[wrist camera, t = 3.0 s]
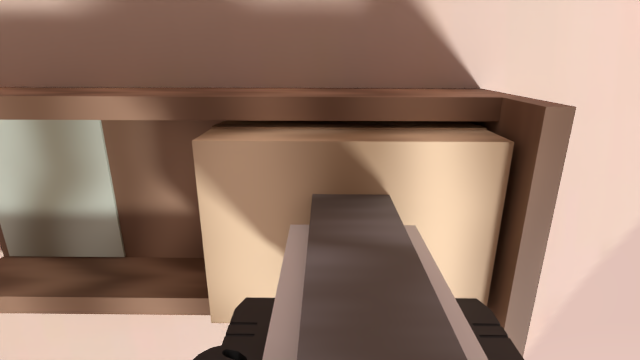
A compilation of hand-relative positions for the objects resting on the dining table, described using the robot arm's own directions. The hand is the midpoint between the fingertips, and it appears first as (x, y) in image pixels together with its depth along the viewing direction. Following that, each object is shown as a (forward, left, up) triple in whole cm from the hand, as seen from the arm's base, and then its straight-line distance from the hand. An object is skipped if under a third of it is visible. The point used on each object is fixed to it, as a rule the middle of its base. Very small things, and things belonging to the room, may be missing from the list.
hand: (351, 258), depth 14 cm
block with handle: (0, 0, -7) cm, 7 cm away
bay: (-7, 0, -9) cm, 11 cm away
